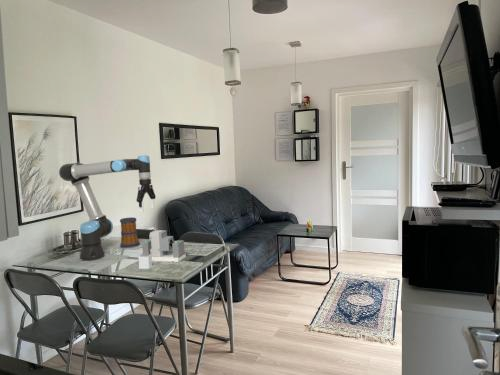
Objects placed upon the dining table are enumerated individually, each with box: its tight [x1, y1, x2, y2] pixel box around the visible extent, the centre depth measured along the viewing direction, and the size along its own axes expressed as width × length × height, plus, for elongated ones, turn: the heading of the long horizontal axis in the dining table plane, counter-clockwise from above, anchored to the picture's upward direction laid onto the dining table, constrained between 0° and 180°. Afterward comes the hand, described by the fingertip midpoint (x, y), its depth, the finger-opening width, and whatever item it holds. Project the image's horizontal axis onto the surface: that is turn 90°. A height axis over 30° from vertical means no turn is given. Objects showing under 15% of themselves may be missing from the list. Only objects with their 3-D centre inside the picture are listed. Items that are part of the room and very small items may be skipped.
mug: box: [119, 216, 141, 249], centre depth 281 cm, size 19×14×20 cm
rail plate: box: [141, 238, 187, 263], centre depth 242 cm, size 25×11×12 cm, turn 74°
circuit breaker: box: [149, 229, 175, 257], centre depth 241 cm, size 8×14×15 cm, turn 77°
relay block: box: [138, 253, 153, 270], centre depth 225 cm, size 6×5×8 cm
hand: (147, 210), depth 257 cm, fingers open, 13 cm apart
